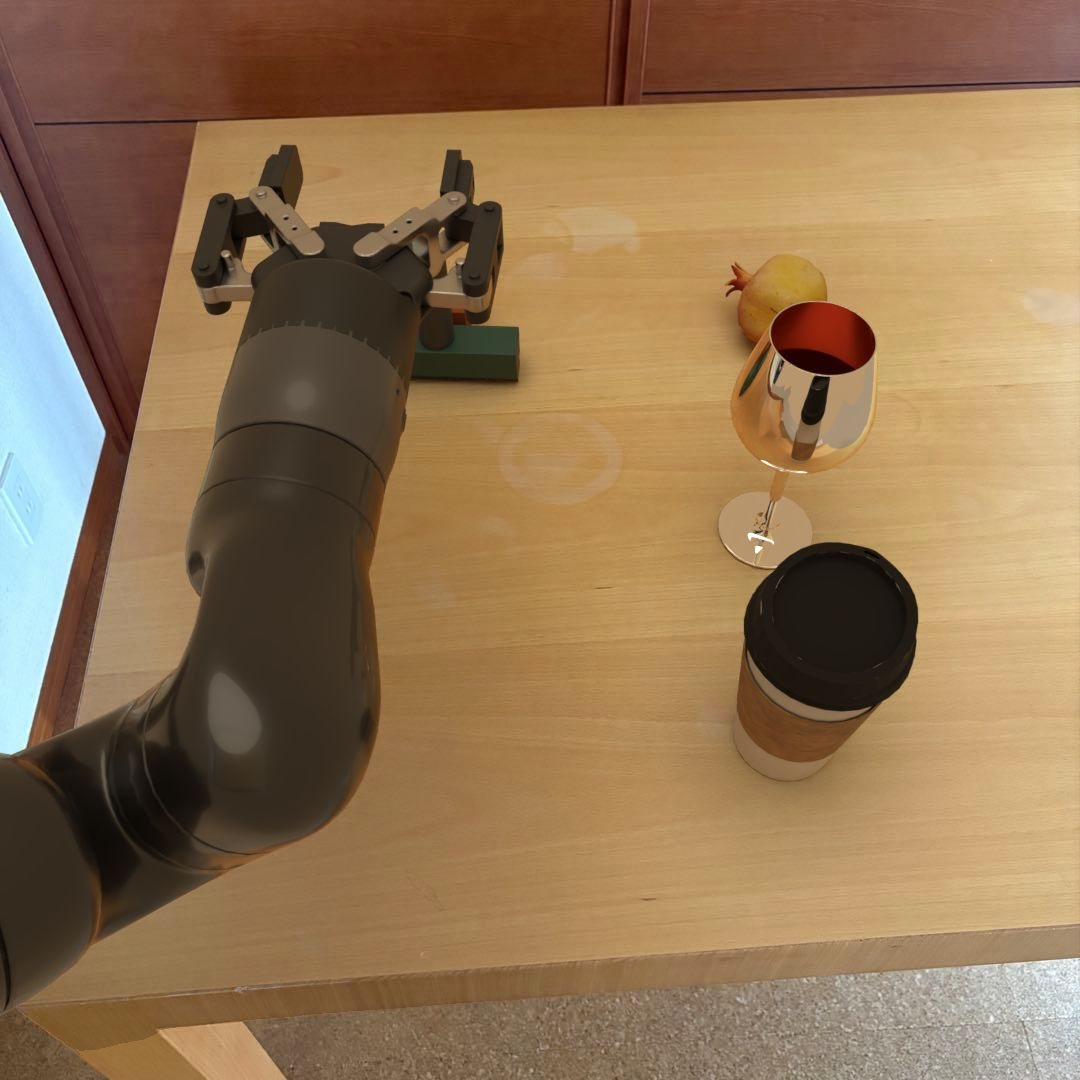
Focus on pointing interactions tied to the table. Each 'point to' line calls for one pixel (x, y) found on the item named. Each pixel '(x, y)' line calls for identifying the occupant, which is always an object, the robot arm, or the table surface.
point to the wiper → (464, 348)
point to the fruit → (774, 291)
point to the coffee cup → (820, 655)
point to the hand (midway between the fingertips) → (374, 161)
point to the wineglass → (798, 419)
